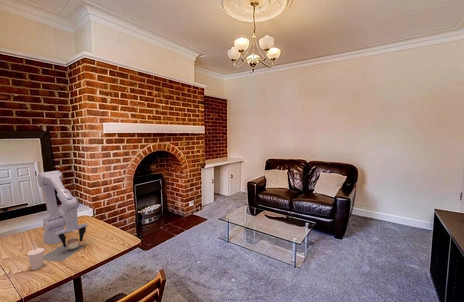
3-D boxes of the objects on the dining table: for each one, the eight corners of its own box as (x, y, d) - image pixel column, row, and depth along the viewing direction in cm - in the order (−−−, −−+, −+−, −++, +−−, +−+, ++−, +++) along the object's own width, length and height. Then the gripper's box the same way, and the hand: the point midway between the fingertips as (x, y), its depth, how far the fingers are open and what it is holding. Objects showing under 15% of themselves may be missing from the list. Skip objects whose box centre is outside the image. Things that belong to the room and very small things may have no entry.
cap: (64, 248, 120) (64, 242, 120) (73, 243, 125) (72, 237, 125) (72, 249, 119) (72, 243, 119) (80, 244, 124) (80, 238, 124)
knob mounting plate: (37, 262, 113) (36, 251, 112) (63, 246, 127) (62, 237, 127) (61, 264, 111) (60, 253, 110) (84, 248, 125) (84, 238, 125)
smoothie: (35, 266, 109) (33, 239, 108) (49, 265, 110) (47, 239, 108) (24, 274, 103) (22, 246, 101) (39, 274, 103) (36, 246, 102)
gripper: (57, 226, 113) (59, 251, 114) (88, 218, 124) (90, 240, 125) (53, 223, 117) (55, 247, 118) (84, 215, 128) (85, 237, 130)
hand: (73, 243), depth 122 cm, fingers open, 7 cm apart
